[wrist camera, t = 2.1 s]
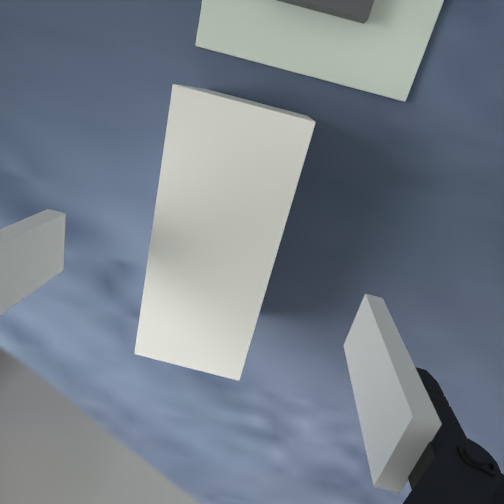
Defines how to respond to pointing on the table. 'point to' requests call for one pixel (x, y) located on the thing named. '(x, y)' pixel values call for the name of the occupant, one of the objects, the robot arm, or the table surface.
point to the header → (326, 38)
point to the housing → (217, 226)
